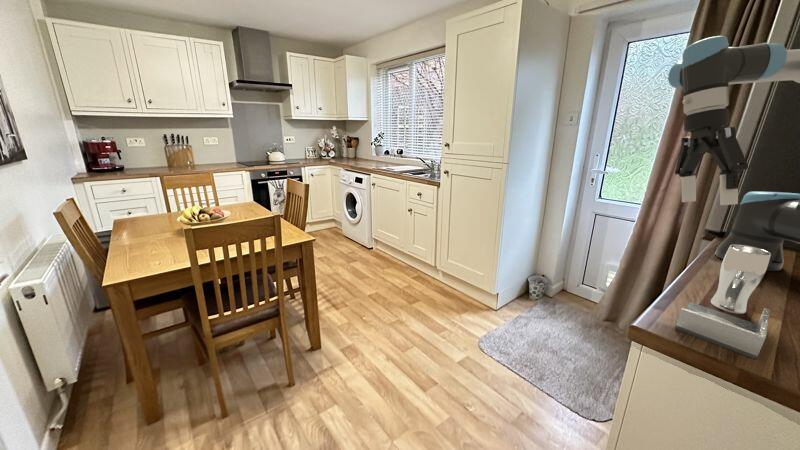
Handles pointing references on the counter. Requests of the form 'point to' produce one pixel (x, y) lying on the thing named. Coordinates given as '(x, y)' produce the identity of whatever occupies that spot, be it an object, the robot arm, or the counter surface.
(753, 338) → the tray
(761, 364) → the counter surface
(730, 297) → the beer glass
